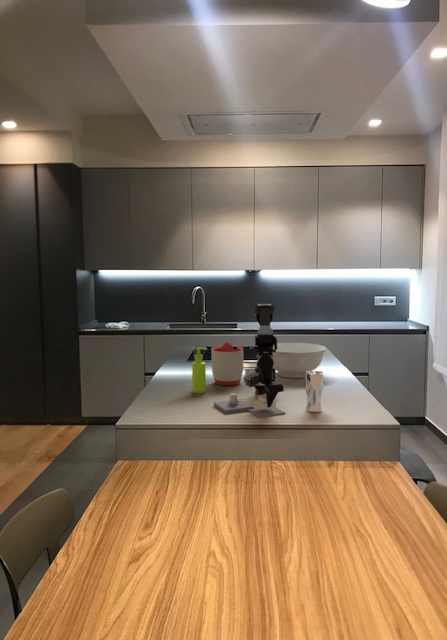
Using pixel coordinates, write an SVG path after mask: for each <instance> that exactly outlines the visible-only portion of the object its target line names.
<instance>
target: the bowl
mask: <svg viewBox="0 0 447 640" xmlns="http://www.w3.org/2000/svg"><path fill="white" fill-rule="evenodd" d="M273 349H274V345H273ZM326 350H327V347H325V346H324V345H321V344H317V343H308V342H277V350H276V352H272V353H273V361H274V365H273V367H274V368H275V370H276V372H277V375H278V376H280V377H283V378H290V379H301V378H305V375H306V372H307V371H316V369H317V368H319V367H320V366H321V363H322V361H323V356H324V353H325V352H326Z"/></svg>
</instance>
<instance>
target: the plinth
mask: <svg viewBox="0 0 447 640" xmlns="http://www.w3.org/2000/svg"><path fill="white" fill-rule="evenodd" d="M213 407H214V408H216V409H218V410H219V411H221V412H222V413H224V414H225V415H228V414H229V415H230V414H235V413H243V412H249V411H248V409H254V407H255V406H254V405H252V404H251V403H249V402H247V401H245V400H244V399H242V398H238V393H235V392H234V393H229V400H222V401H214V402H213Z"/></svg>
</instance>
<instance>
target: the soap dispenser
mask: <svg viewBox="0 0 447 640" xmlns="http://www.w3.org/2000/svg"><path fill="white" fill-rule="evenodd" d="M194 350H196V354H194V361H193V362H192V363H191V369H192V370H191V371H192V372H191V373H192V378H191V379H192V393H194V394H203V393H206V391H207V390H206V389H207V386H206V383H207V380H206V378H207V377H206V375H207V373H206V362H205V361H203V354H201V350H204V351H207V350H208V348H207V347H203V346H201V347H200V346H199V347H195V348H194Z"/></svg>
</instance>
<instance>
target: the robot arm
mask: <svg viewBox="0 0 447 640" xmlns="http://www.w3.org/2000/svg"><path fill="white" fill-rule="evenodd" d="M275 313H276V312H275V305H273V304H272V303H257V305H254V316H256V318H255V319H256V322H257V323H258V325H259V328H258V329H257V331H256V332H257V333H256V335H255V337H254V338H255V339H254V340H255V341H254V342H255V343H254V344H255V349H254V351H255V353H257V361H256V366H255V367H254V372H251V373H249V374H247V375H245V376H244V377H243V381H244V383H245V386H246V387H247V386H248V387H249V388H252V387H253V388H254V389H255V391H254V393H255V394H256V395H257V396H258V395H260V394H266V399H267V406H268V408H269V407H271V405H272V403H273V401H275V399H276V398H277V395H278V394H279V393H284V391H285V386H284V385H283V383H280V382H278V381H277V382H276V372H277V371H276V370H275V368H274V367H273V365H274V361H273V353H272V352H276V350H277V343H278V339H277V337H276V335H274V329H272V328H271V324H272V321H273V318H274V315H275ZM273 345H274V349H273Z"/></svg>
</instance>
